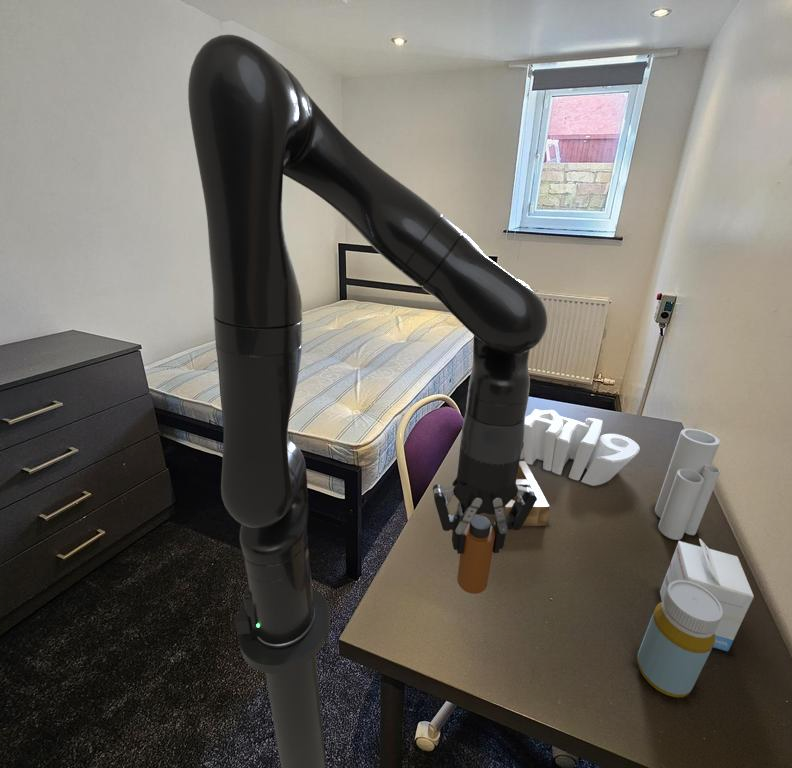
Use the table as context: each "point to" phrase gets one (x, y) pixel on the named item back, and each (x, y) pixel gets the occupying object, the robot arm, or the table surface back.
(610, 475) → the white foam letters
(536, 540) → the table surface
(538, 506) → the hole block
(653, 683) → the bottle
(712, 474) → the vase
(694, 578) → the tissue box
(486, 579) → the small bottle
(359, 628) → the table surface
